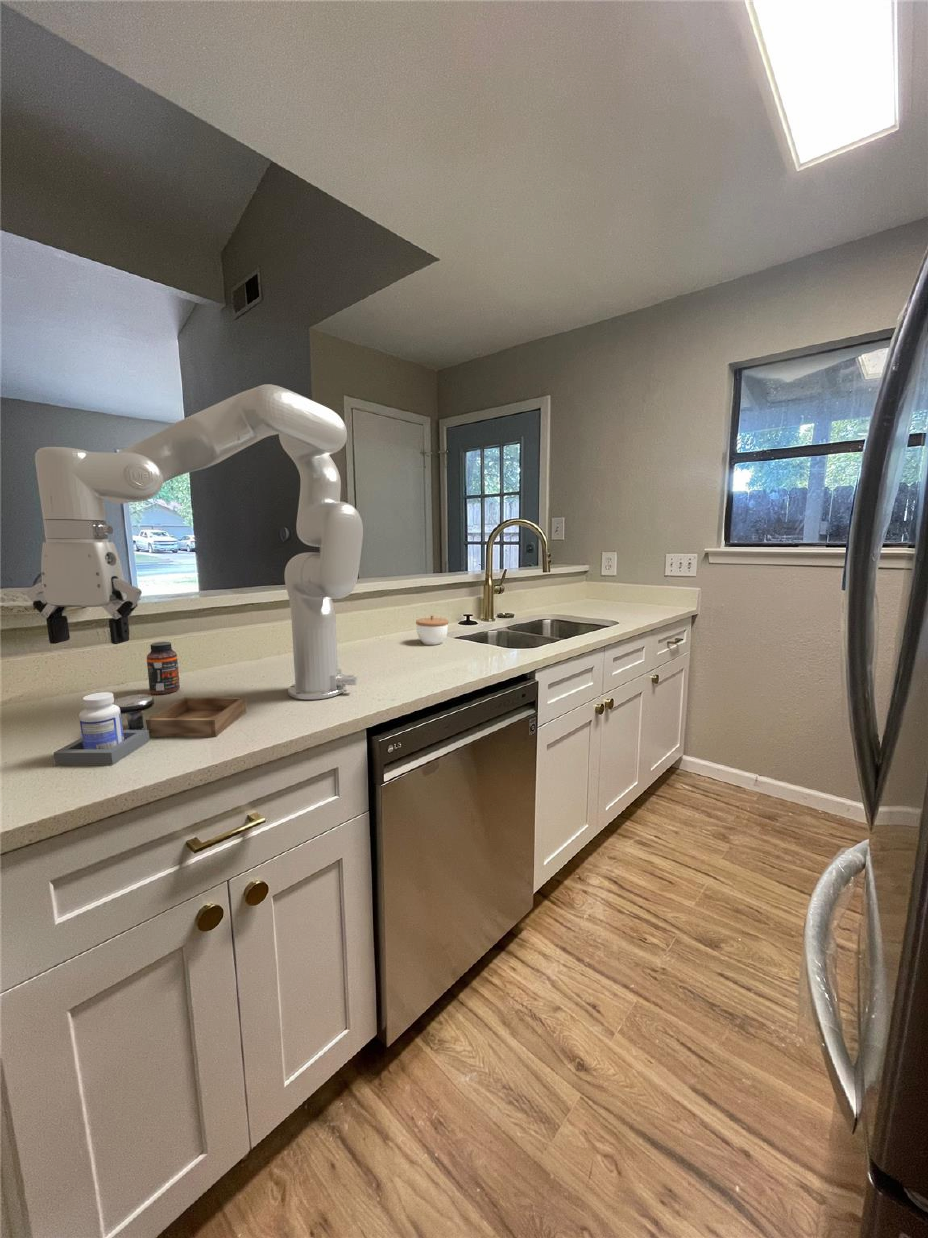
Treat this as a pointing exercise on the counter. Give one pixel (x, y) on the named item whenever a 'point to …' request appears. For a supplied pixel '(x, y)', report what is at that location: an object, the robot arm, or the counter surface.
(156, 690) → the supplement bottle
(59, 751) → the socket collar
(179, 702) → the tray
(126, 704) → the metal mushroom knob
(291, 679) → the counter surface
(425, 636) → the lidded jar
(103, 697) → the pill bottle
